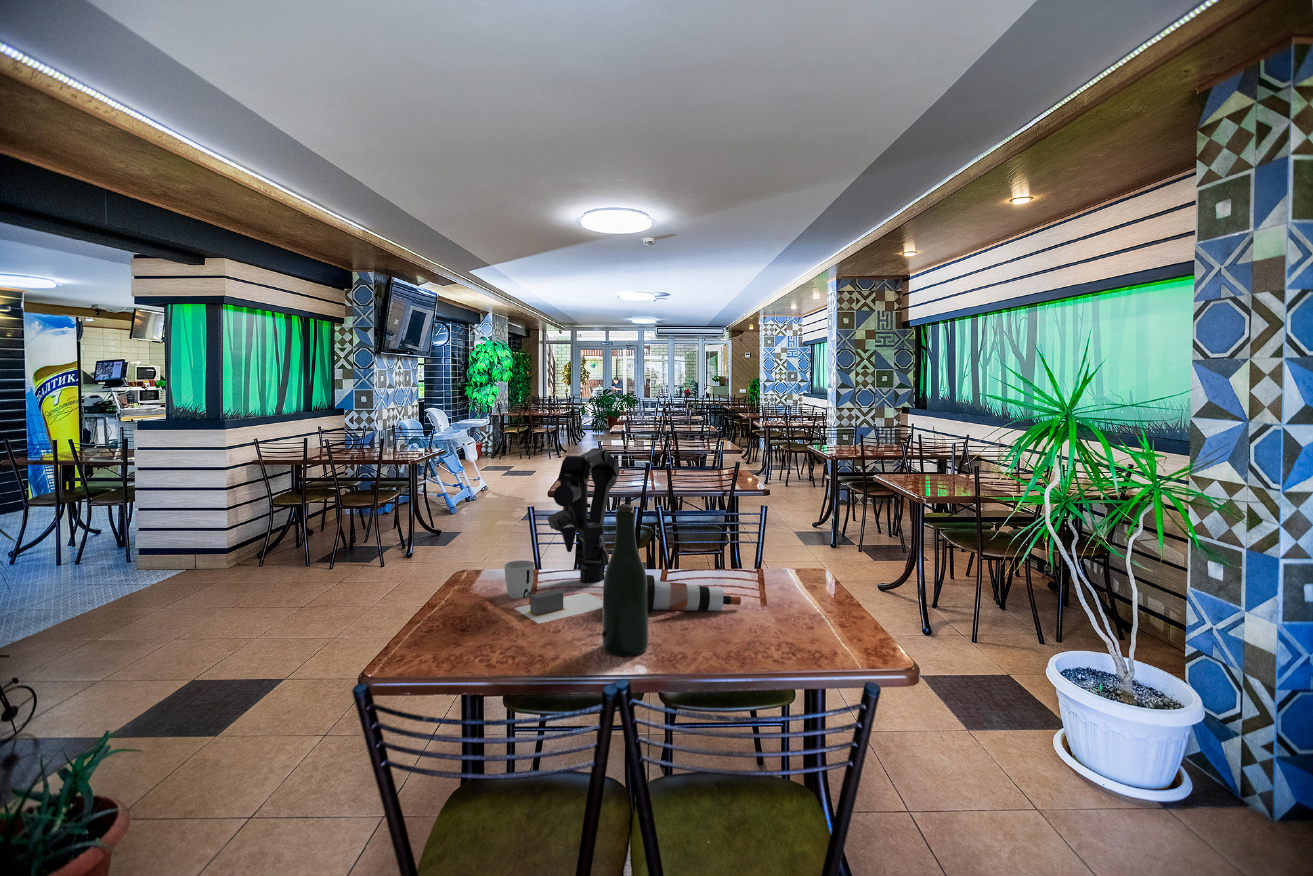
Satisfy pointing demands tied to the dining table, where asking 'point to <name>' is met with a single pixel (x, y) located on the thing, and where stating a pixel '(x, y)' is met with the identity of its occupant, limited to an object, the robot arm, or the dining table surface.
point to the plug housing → (546, 602)
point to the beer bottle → (625, 592)
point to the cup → (519, 578)
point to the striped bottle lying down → (686, 597)
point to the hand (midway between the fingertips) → (577, 555)
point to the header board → (566, 608)
